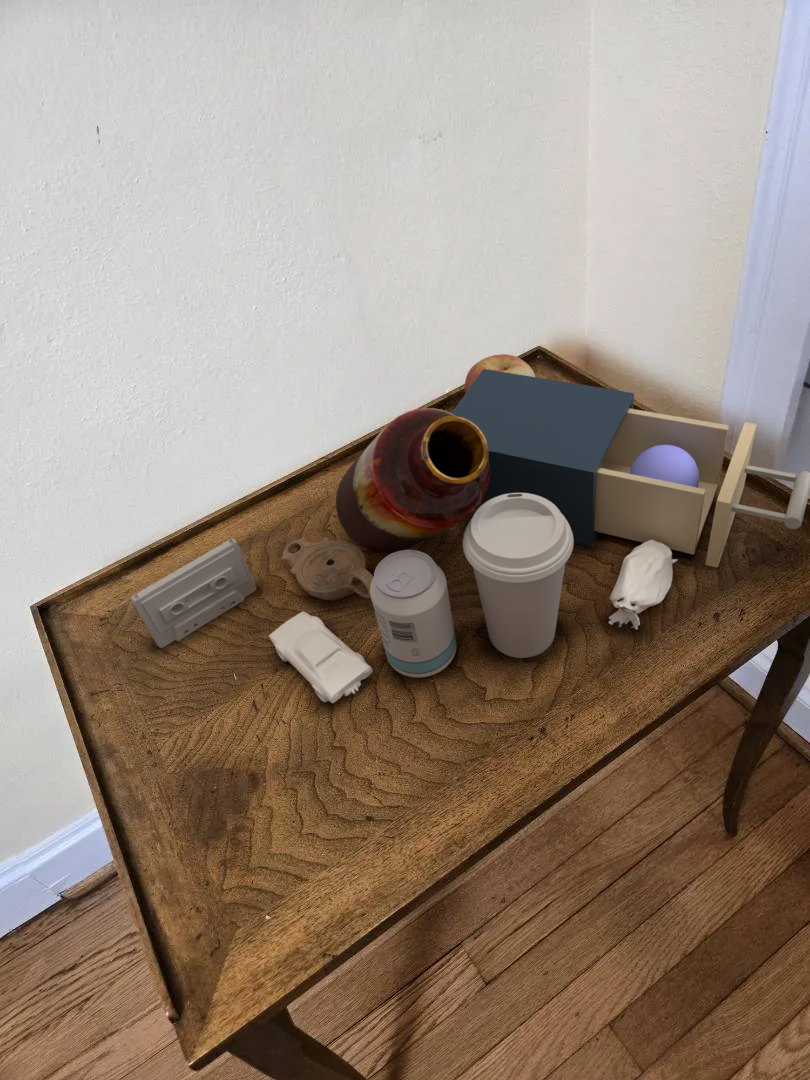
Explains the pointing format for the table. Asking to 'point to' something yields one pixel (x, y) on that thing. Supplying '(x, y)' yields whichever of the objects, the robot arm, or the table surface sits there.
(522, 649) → the coffee cup
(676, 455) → the sphere
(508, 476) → the cabinet
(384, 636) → the beverage can
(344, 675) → the toy car
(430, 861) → the table surface
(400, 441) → the vase
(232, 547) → the cassette
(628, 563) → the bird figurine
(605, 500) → the drawer
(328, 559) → the oil lamp
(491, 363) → the apple
